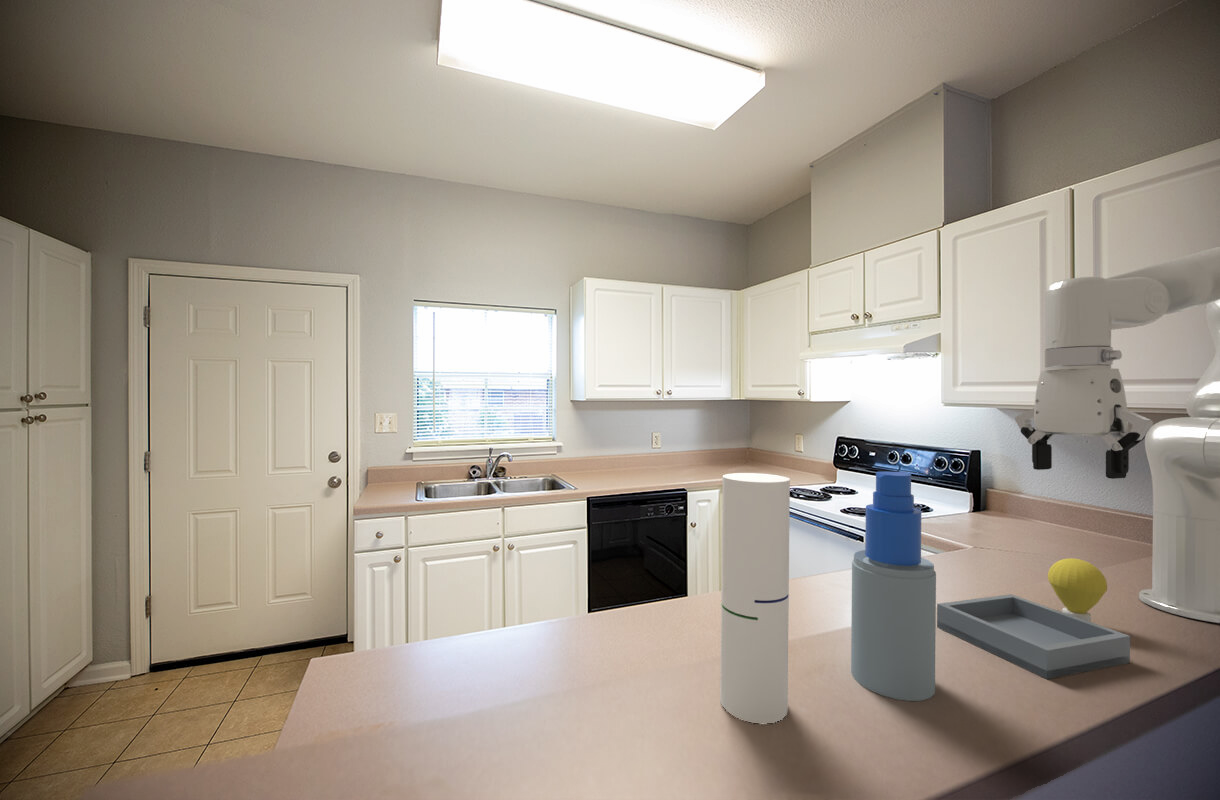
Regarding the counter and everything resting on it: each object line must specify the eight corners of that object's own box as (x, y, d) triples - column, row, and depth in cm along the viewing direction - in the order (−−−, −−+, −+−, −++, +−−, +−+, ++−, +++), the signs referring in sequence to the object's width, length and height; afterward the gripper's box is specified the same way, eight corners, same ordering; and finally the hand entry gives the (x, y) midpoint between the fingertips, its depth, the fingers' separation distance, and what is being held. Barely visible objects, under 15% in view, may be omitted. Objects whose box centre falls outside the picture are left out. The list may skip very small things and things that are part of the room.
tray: (1010, 616, 81) (1011, 594, 81) (1129, 662, 67) (1130, 635, 67) (936, 627, 77) (937, 603, 77) (1047, 679, 63) (1047, 650, 63)
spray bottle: (910, 662, 66) (912, 468, 66) (952, 703, 57) (954, 478, 58) (839, 659, 67) (841, 467, 67) (869, 699, 58) (871, 477, 58)
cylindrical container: (797, 725, 53) (799, 482, 53) (727, 723, 53) (729, 481, 53) (776, 687, 60) (778, 473, 60) (714, 685, 60) (717, 472, 61)
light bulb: (1036, 614, 82) (1037, 552, 82) (1082, 617, 81) (1083, 553, 81) (1069, 633, 75) (1069, 565, 75) (1119, 636, 75) (1120, 567, 75)
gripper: (1168, 356, 71) (1168, 480, 71) (1033, 365, 88) (1033, 465, 88) (1131, 355, 69) (1132, 483, 69) (1001, 364, 86) (1001, 467, 86)
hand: (1077, 473), depth 78 cm, fingers open, 9 cm apart
